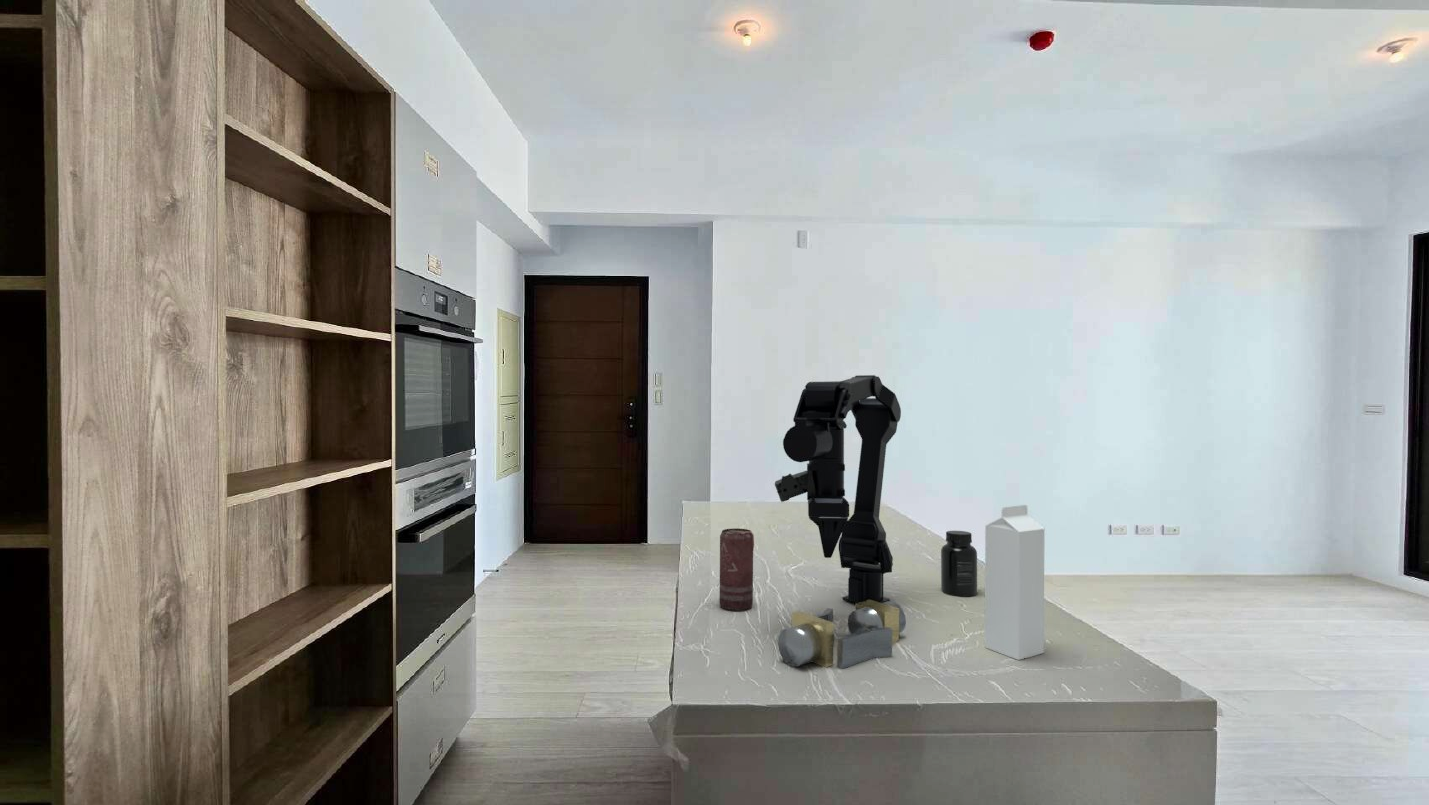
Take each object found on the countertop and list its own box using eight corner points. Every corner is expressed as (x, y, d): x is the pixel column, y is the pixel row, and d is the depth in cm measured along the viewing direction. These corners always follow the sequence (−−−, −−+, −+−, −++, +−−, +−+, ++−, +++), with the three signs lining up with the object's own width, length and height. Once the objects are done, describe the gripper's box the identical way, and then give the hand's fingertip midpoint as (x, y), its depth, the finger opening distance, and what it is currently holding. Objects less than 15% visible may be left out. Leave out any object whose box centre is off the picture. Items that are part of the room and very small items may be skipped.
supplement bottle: (980, 591, 134) (980, 531, 134) (973, 599, 128) (973, 537, 128) (945, 586, 137) (945, 528, 137) (936, 593, 132) (937, 533, 132)
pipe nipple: (878, 628, 111) (878, 597, 111) (907, 638, 106) (907, 605, 106) (846, 638, 106) (846, 605, 106) (875, 649, 101) (875, 615, 101)
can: (751, 612, 118) (752, 534, 118) (716, 610, 120) (717, 532, 120) (756, 603, 124) (756, 528, 124) (722, 600, 126) (723, 526, 126)
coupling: (828, 632, 109) (829, 595, 109) (893, 655, 98) (894, 615, 98) (760, 652, 99) (760, 612, 99) (824, 681, 89) (824, 636, 89)
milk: (1044, 654, 100) (1046, 507, 100) (1018, 661, 97) (1020, 510, 97) (1008, 641, 105) (1010, 502, 105) (983, 647, 102) (985, 504, 102)
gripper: (779, 451, 120) (779, 537, 120) (775, 462, 102) (775, 563, 102) (841, 452, 119) (841, 539, 119) (849, 463, 100) (849, 566, 100)
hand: (826, 550), depth 110 cm, fingers open, 9 cm apart
